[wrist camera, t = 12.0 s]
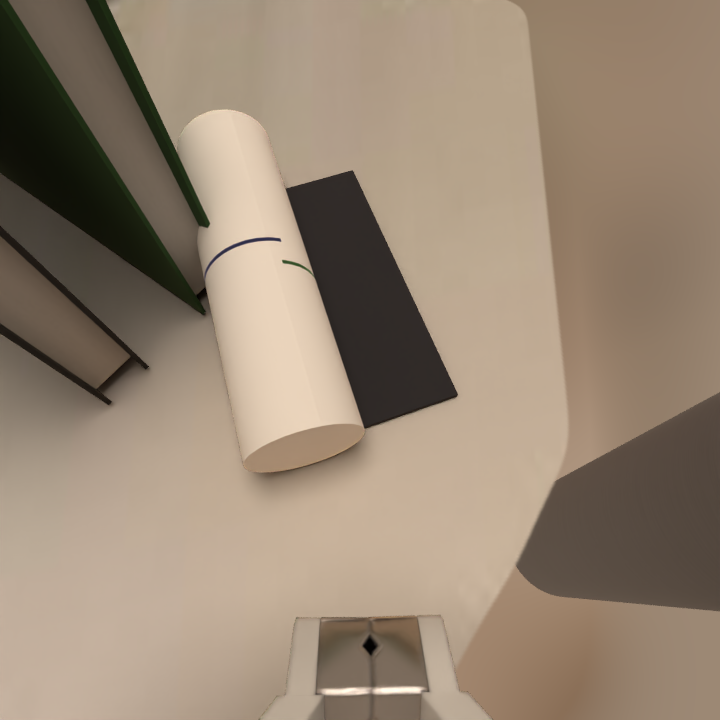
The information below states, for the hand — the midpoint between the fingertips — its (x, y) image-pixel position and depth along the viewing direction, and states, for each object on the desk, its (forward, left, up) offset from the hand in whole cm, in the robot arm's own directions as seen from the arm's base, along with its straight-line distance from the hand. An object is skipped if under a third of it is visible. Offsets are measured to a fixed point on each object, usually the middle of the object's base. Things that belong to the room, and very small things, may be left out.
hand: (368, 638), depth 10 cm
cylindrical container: (+1, -8, -16) cm, 18 cm away
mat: (-3, -21, -20) cm, 29 cm away
